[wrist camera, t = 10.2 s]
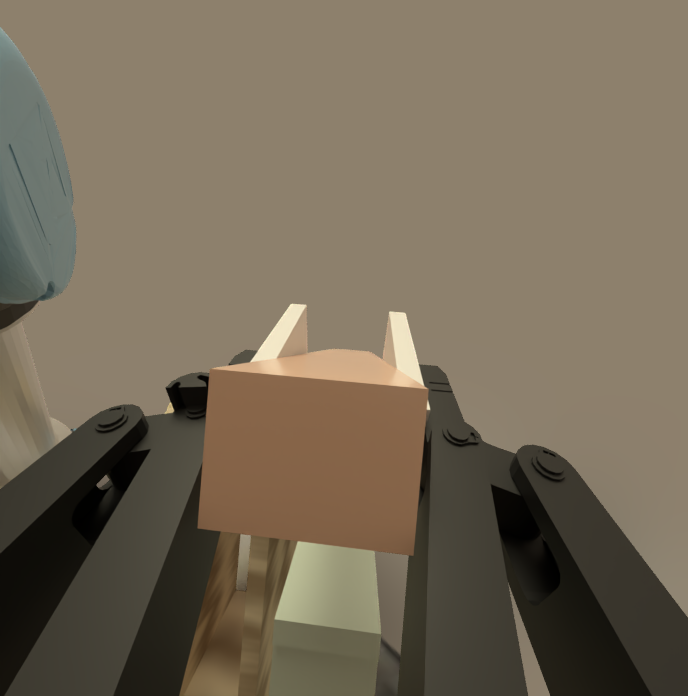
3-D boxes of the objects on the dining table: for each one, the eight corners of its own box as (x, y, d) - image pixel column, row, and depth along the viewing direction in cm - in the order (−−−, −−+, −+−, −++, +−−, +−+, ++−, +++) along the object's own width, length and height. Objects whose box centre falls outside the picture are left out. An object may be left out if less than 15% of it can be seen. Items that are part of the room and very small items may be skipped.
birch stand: (247, 790, 22) (277, 433, 22) (132, 770, 23) (159, 421, 22) (293, 604, 38) (311, 395, 38) (225, 595, 39) (241, 389, 38)
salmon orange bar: (413, 555, 5) (428, 389, 5) (197, 528, 5) (209, 368, 5) (367, 377, 31) (369, 351, 31) (332, 374, 31) (335, 348, 31)
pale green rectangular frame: (345, 1012, 15) (381, 634, 15) (242, 990, 16) (274, 619, 15) (352, 655, 33) (368, 477, 32) (303, 648, 33) (318, 471, 33)
